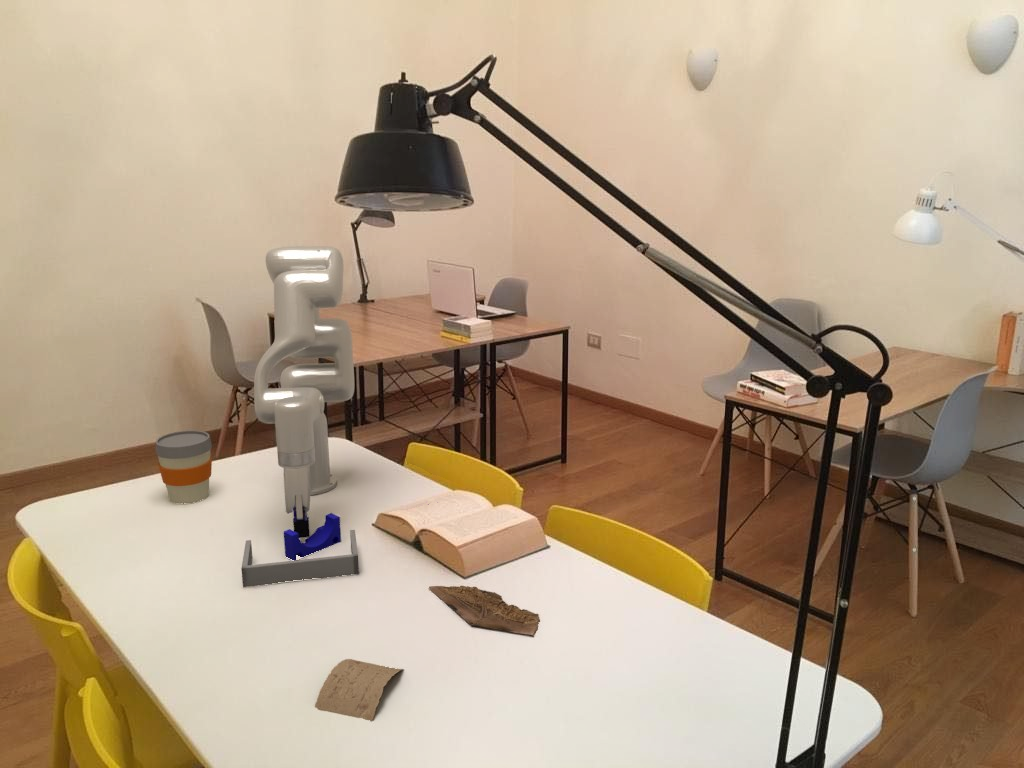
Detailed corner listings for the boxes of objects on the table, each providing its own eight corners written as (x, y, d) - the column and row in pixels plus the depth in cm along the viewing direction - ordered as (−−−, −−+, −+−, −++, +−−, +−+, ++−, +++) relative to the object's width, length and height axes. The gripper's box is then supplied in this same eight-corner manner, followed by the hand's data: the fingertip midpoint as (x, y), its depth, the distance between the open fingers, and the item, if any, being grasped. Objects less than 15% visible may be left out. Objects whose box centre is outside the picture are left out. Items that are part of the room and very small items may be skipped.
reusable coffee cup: (205, 507, 187) (198, 447, 183) (152, 507, 187) (144, 447, 183) (224, 486, 199) (218, 430, 195) (174, 486, 199) (168, 429, 195)
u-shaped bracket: (247, 558, 163) (245, 540, 162) (355, 546, 168) (354, 529, 167) (243, 587, 152) (241, 568, 151) (359, 574, 157) (358, 555, 156)
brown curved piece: (372, 727, 115) (371, 711, 115) (308, 716, 118) (307, 700, 117) (407, 668, 129) (406, 654, 128) (349, 659, 131) (349, 645, 131)
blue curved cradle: (328, 536, 174) (326, 510, 172) (341, 542, 171) (339, 516, 169) (281, 555, 165) (279, 529, 163) (294, 562, 162) (292, 535, 160)
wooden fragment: (555, 624, 141) (555, 619, 141) (514, 651, 133) (514, 646, 133) (454, 575, 158) (454, 571, 157) (412, 597, 150) (412, 592, 149)
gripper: (279, 445, 171) (284, 523, 176) (276, 470, 157) (282, 553, 162) (314, 442, 173) (319, 519, 178) (315, 467, 159) (320, 550, 164)
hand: (302, 535), depth 170 cm, fingers closed
